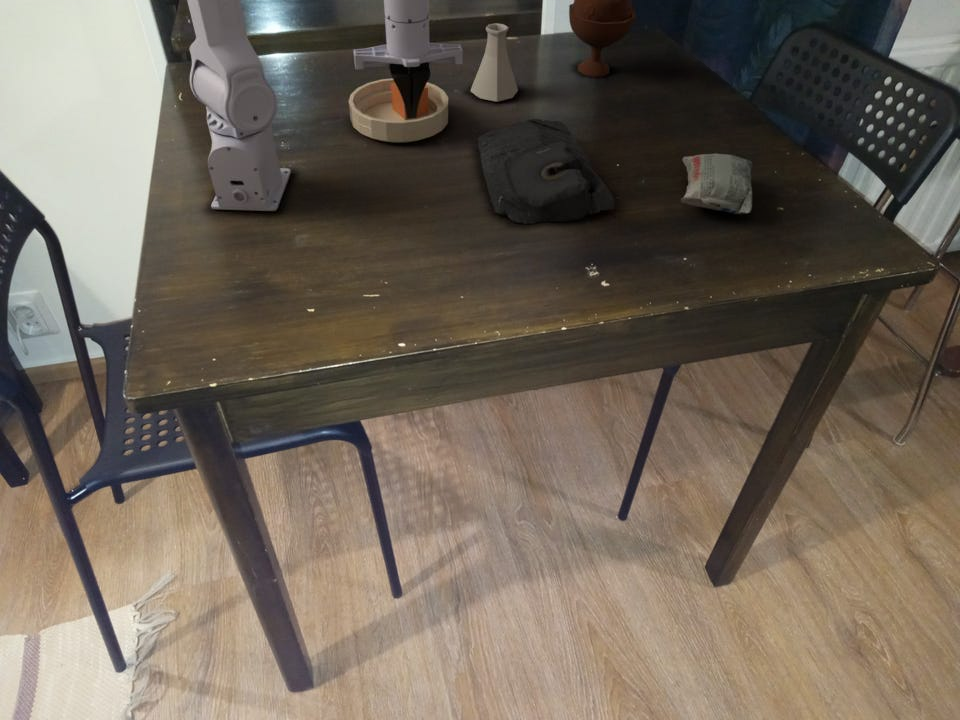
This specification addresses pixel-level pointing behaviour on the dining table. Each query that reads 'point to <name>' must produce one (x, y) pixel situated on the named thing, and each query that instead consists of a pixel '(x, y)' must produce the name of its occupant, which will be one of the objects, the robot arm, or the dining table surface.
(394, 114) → the bowl
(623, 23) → the ice cream bowl
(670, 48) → the dining table surface
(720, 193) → the packaged food
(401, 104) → the block
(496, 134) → the dark slate chunk
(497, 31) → the flask
